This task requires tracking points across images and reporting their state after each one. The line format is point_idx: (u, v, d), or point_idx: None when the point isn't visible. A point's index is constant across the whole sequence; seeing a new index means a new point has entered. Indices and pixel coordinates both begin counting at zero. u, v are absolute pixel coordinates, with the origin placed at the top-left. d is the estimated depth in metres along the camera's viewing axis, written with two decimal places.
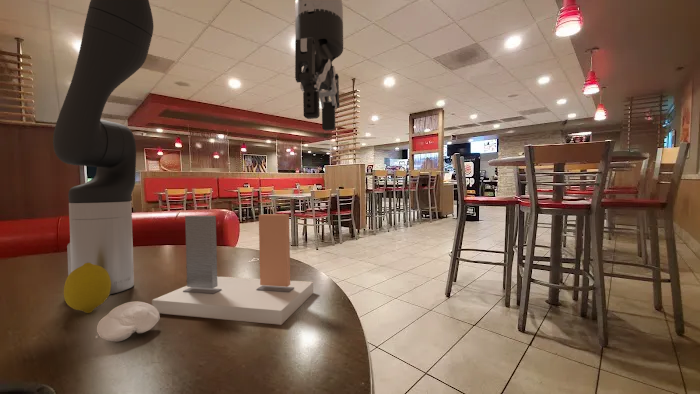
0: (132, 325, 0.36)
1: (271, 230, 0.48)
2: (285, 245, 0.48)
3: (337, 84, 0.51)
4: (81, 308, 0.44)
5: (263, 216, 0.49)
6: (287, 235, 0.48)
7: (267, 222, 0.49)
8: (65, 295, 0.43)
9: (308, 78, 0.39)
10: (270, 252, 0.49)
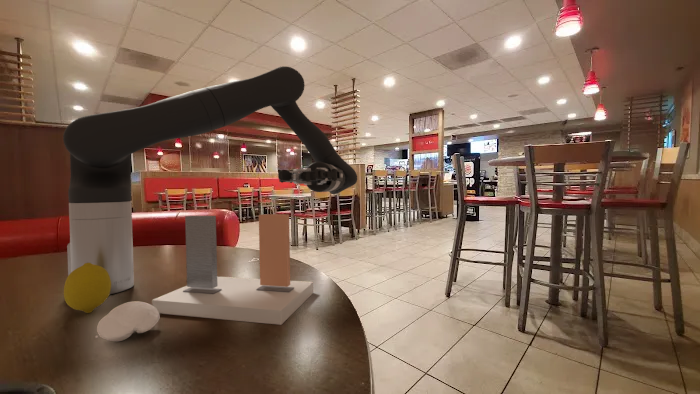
0: (132, 325, 0.36)
1: (271, 230, 0.48)
2: (285, 245, 0.48)
3: None
4: (81, 308, 0.44)
5: (263, 216, 0.49)
6: (287, 235, 0.48)
7: (267, 222, 0.49)
8: (65, 295, 0.43)
9: (335, 177, 0.62)
10: (270, 252, 0.49)
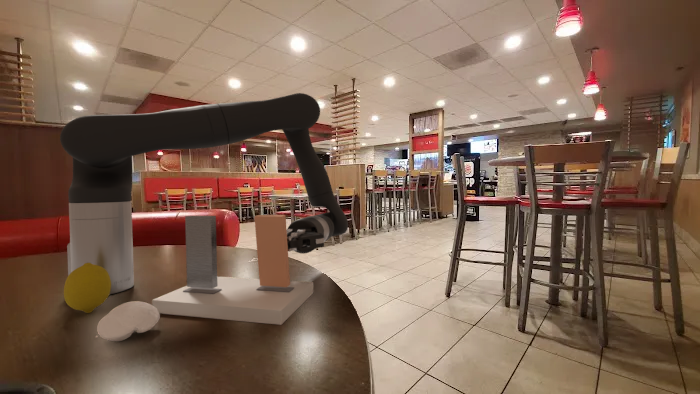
0: (133, 325, 0.36)
1: (268, 232, 0.47)
2: (283, 247, 0.47)
3: None
4: (81, 308, 0.44)
5: (259, 218, 0.47)
6: (284, 236, 0.47)
7: (263, 224, 0.47)
8: (65, 295, 0.43)
9: (300, 247, 0.53)
10: (268, 253, 0.48)
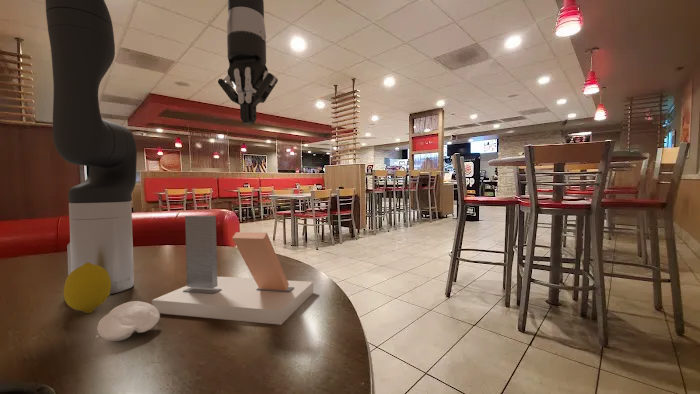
0: (133, 325, 0.36)
1: (252, 250, 0.43)
2: (273, 262, 0.44)
3: None
4: (81, 308, 0.44)
5: (238, 239, 0.42)
6: (272, 253, 0.43)
7: (245, 244, 0.42)
8: (65, 295, 0.43)
9: (262, 100, 0.59)
10: (259, 267, 0.45)
